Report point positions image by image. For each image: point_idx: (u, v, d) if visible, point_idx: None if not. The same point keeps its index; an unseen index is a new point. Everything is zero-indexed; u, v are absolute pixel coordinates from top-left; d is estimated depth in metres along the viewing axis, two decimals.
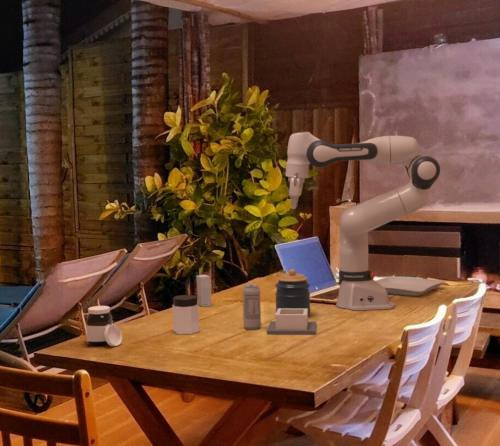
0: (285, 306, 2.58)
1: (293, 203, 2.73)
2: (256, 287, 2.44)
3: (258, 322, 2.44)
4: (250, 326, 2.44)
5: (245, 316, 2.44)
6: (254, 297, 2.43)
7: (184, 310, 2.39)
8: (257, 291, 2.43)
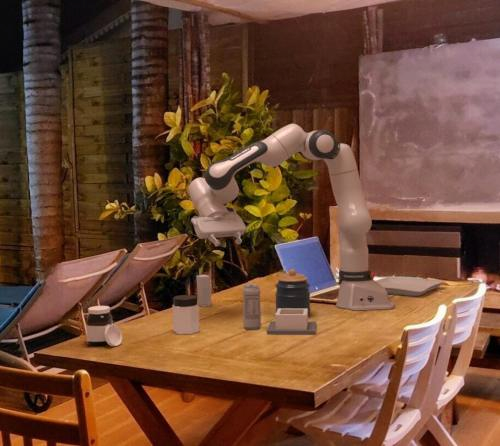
0: (285, 306, 2.58)
1: (213, 240, 2.52)
2: (256, 287, 2.44)
3: (258, 322, 2.44)
4: (250, 326, 2.44)
5: (245, 316, 2.44)
6: (254, 297, 2.43)
7: (184, 310, 2.39)
8: (257, 291, 2.43)
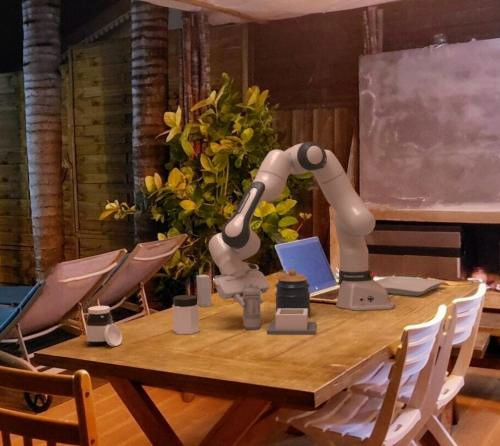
0: (285, 306, 2.58)
1: (239, 301, 2.44)
2: (256, 287, 2.44)
3: (258, 322, 2.44)
4: (250, 326, 2.44)
5: (245, 316, 2.44)
6: (254, 297, 2.43)
7: (184, 310, 2.39)
8: (257, 291, 2.43)
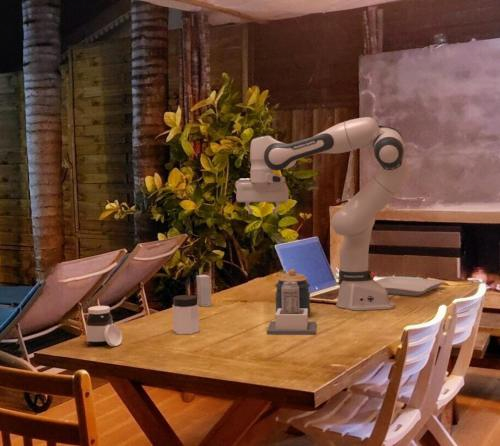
0: None
1: None
2: (295, 284, 2.40)
3: None
4: None
5: None
6: (293, 295, 2.39)
7: (184, 310, 2.39)
8: (296, 288, 2.40)
